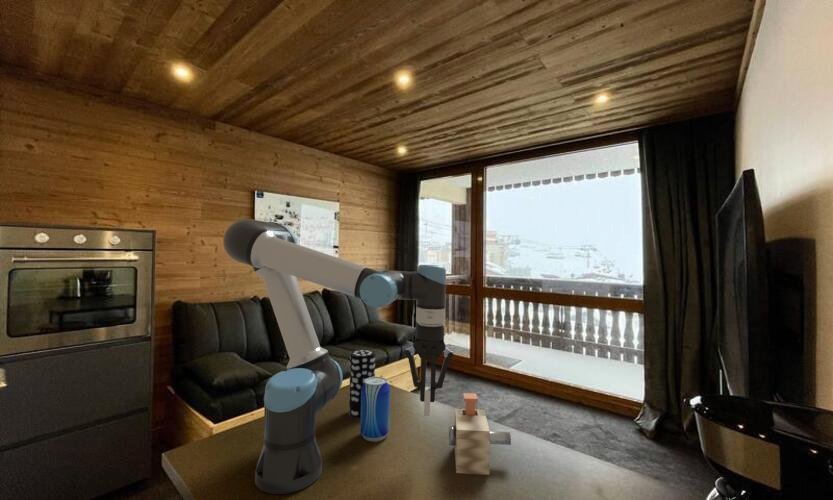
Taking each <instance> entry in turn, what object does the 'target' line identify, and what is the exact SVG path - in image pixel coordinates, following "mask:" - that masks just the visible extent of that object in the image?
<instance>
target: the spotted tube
mask: <svg viewBox="0 0 833 500" xmlns="http://www.w3.org/2000/svg"><path fill="white" fill-rule="evenodd" d="M370 377H376V351H375V350H371V349H356V350H352V351H350V352H349V395H348V396H349V402H348V403H349V405H348V415H349V416H350V418H353V419H357V420H359V419H360V420H361V388H362V386H363V384H364V383H365V382H364V381H365V379H367V378H370Z"/></svg>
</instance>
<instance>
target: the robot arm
mask: <svg viewBox="0 0 833 500" xmlns="http://www.w3.org/2000/svg"><path fill="white" fill-rule="evenodd" d="M295 235H296V234H294V232H293V231H292V230H291V229H290V228H289V227H288V226H286V225H283V224H281V223H278V222H274V221H263V220H257V219H252V218H244V219H243V218H242V219H239V220H236V221H235V222H233V223H232V224H231V225H229V226H228V228H227V229H226V230H225V232H224V234H223V238H222V239H223V242H222V243H223V247H224V251H225V252H226V254H227V255H228V257H230V258H231V259H232V260H234V261H236V262H239V263H241V264H245V265H247V266H251V267H252V269H253V271H254V274H255V275H256V276H259V277H261V278H262V279H263V283H264V285H265V289H266V292H267V294H268V297H269V301H270V304H271V307H272V311H273V313H274V315H275V318H276V322H277V324H278V327H279V330H280V333H281V337H282V339H283V343H284V345H285V348H286V351H287V355H288V357H289V361H288V364H287V365H286V371H285V370H284V371H283V370H281V371H280V372H277V373H275V374H274V375H272V376H271V377H270V378H269V379H268V380H267V383H265V390H264V396H263V403H264V404H263V405H264V406H263V407H264V412H263V416H264V417H263V419H264V420H263V423H264V424H263V446H262V450H261V452H260V455H259V458H258V461H257V464H256V468H255V472H254V483H255V484H254V485H256V487H257V488H258V489H259V490H260V491H261V492H263V493H267V494H271V495H287V494H291V493H296V492H299V491H301V490H303V489H306V488H307V487H309V486H311V485H312V484H313V483H315V482H316V481H317V480H318V479H319V478H320V476H321V474H322V471H323V459H322V455H321V454H322V453H321V451H320V449H319V445H318V442H317V439H316V418H317V417H316V416H317V414H318V413H319V412H320V411H321V410H322V409H323V408H325V406H326V405H327V404H329V403H330V402H331V401H333V399H335V397H336V396H337V395H338V392H339V391H340V390H341V387H342V384H343V371H342V368H341V366H340V364H339V363H338V362H337V361H336V360H334V359H333V358H331V357H330V354H329V351H328V349H325V348H323V347H321V345H320V341H319V338H318V336H317V333H316V330H315V328H314V324H313V321H312V319H311V316H310V313H309V310H308V307H307V304H306V301H305V298H304V295H303V292H302V289H301V287H300V284H299V283H300V282H299V281H298V278H299V279H301V280H304V281H307V282H311V283H313V284H316V285H319V286H322V287H323V288H324V287H325V288H327V289H331V290H333V291H337V292H339V293H342V294H344V295H348V296H351V297H354V298H357V299H360V300H362V301H363V303H364V304H365V305H366V306H368V307H370V308H373V309H374V308H376V309H379V308H384V307H387V306H389V305H390V304H392V303H393V302H396V301H397V300H404V301H405V300H407V301H408V300H409V301H416V308H415V309H416V314H415V315H416V316H415V322H417V323H416V325H415V338H414V339H415V340H414V342H413V344H412V345H411V346H409V347H406V348H405V350H404V354H405V356H406V357H407V359H408V364H409V368H410V373H411V374H410V375H411V378H412V383H413V384H412V385H413V387H415V388H417V389H418V388H419V389H420V393H419V394H420V395H419V401H420V402H422V403H424V404H423V405H424V406H423V408H424V409H423V416H424V417H430V415H431V403H435V401H436V390H437V389H442V387H443V384H444V381H445V378H446V374H447V370H448V367H449V364H450V361H451V359H452V358H453V357H454V351H453V350H452V349H449V348H448V347H446V346H447V345H446V342H445V325H444V324H445V322H446V320H445V319H446V317H445V316H446V298H447V297H446V292H447V269H446V267H445V266H443V265H439V264H419V265H418V266H417V270H416V271H401V270H390V269H386V270H385V269H382V270H376V269H374V268H369V267H367V266H364V265H361V264H358V263H355V262H351V261H349V260H346V259H342V258H341V257H337V256H333V255H330V254H328V253H325V252H322V251H319V250H316V249H313V248H309V247H306V246H303V245H300V244H298V242H297V238H296V236H295ZM415 352H416V354H417V355H418V356H419V358H420V359H421V365H420V380H419V376H418V370H417V366H416V361H415V356H414V355H415ZM443 352H444V353H443ZM442 354H443V356H444V359H443V361H442V365H441V369H440V373H439V376H438V379H437V381H436V374H437V373H436V372H437V360H439V359H438V358H440V356H441V355H442ZM427 360H430V362H431V364H430V365H431V367H430V386H426V384H427V383H426V382H427V380H426V379H427Z"/></svg>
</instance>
